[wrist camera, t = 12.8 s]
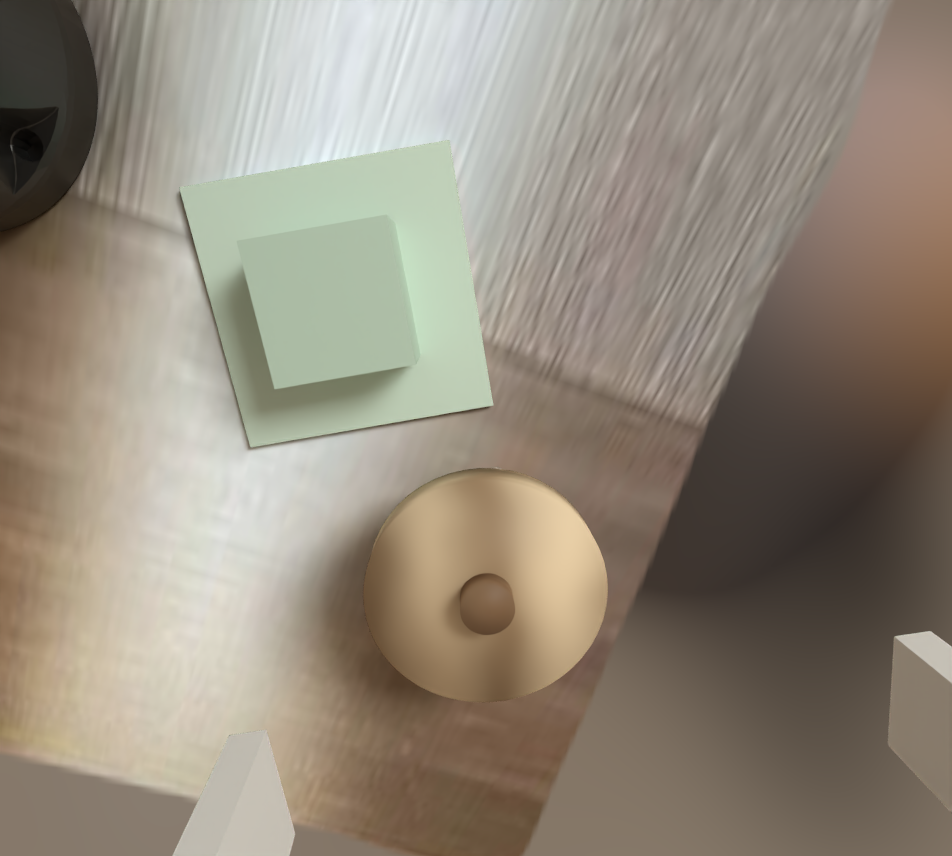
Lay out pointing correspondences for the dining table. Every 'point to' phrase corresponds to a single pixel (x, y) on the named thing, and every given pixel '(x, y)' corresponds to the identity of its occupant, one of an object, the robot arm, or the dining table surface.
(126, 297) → the dining table surface
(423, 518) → the lid
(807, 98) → the dining table surface
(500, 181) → the dining table surface
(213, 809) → the robot arm
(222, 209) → the mat stand
